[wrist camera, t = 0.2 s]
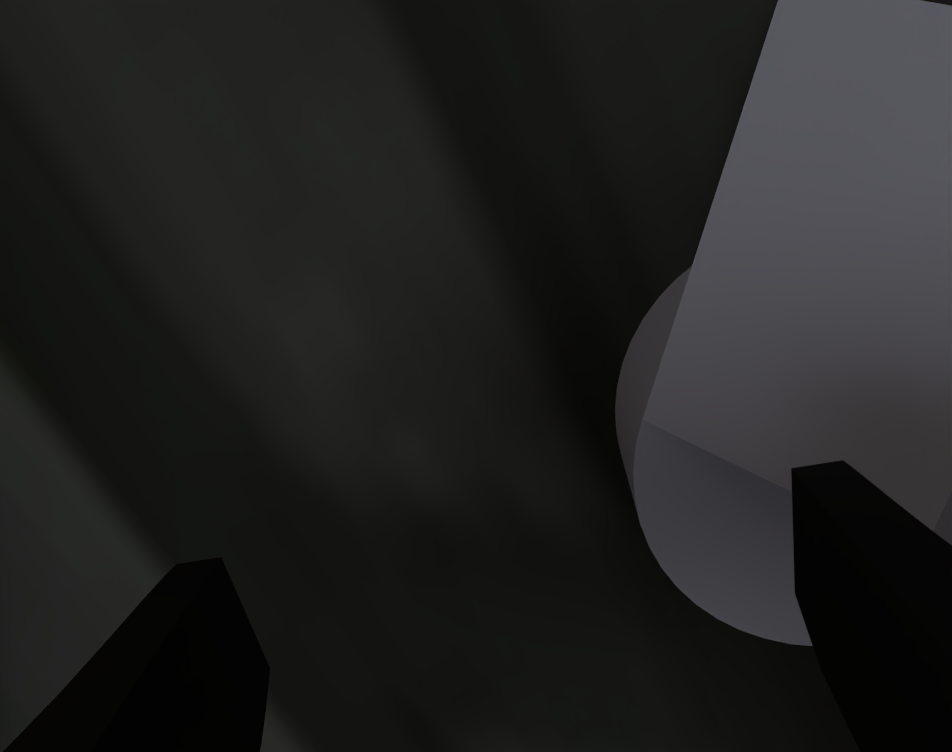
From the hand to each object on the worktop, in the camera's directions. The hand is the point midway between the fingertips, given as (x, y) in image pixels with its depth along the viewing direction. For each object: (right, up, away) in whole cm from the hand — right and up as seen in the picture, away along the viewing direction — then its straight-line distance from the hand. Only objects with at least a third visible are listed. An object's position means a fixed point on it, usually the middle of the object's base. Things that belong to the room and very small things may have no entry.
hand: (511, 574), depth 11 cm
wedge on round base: (+8, +4, +10) cm, 13 cm away
